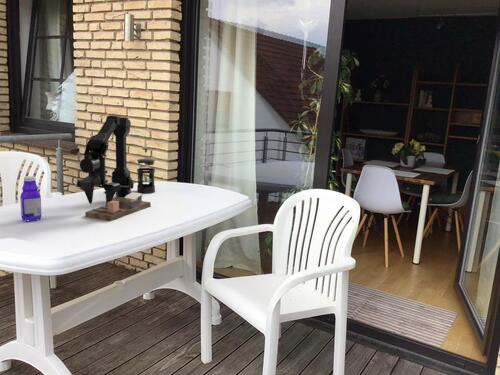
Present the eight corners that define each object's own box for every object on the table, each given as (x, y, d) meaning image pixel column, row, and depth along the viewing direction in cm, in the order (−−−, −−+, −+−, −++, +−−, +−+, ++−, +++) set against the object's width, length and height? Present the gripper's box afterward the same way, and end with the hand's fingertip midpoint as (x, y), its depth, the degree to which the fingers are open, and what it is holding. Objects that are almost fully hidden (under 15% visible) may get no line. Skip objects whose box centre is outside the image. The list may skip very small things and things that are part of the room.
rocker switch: (124, 200, 206) (123, 197, 205) (132, 194, 211) (131, 192, 210) (135, 201, 204) (134, 199, 203) (142, 196, 209) (142, 193, 208)
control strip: (85, 216, 189) (84, 204, 187) (127, 202, 214) (127, 192, 213) (110, 221, 184) (110, 208, 183) (150, 206, 209) (150, 195, 208)
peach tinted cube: (107, 211, 189) (107, 202, 188) (113, 209, 192) (113, 200, 191) (113, 212, 188) (113, 203, 187) (119, 210, 191) (118, 201, 190)
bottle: (38, 216, 186) (36, 175, 182) (43, 219, 182) (41, 177, 178) (19, 219, 180) (16, 176, 177) (24, 223, 177) (22, 179, 173)
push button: (110, 203, 201) (110, 198, 201) (116, 201, 205) (116, 196, 204) (131, 207, 197) (131, 201, 197) (136, 205, 201) (136, 199, 200)
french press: (148, 194, 232) (148, 150, 227) (132, 192, 235) (132, 148, 230) (160, 190, 243) (160, 147, 238) (145, 188, 246) (145, 146, 241)
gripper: (66, 169, 185) (67, 206, 188) (103, 174, 178) (104, 212, 182) (85, 165, 195) (86, 200, 199) (121, 170, 189) (121, 206, 192)
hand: (99, 204), depth 192 cm, fingers open, 9 cm apart
